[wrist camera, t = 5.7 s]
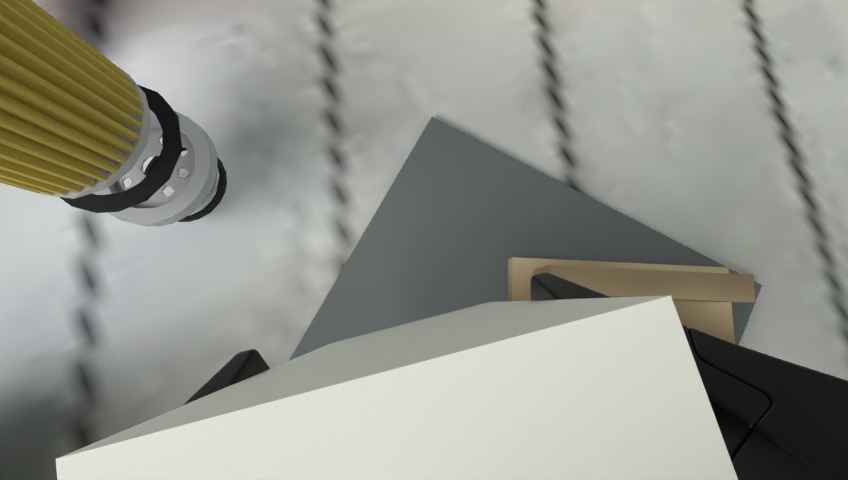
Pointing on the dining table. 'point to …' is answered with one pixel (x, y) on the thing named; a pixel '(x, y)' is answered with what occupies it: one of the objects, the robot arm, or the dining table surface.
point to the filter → (94, 128)
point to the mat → (475, 239)
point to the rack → (648, 287)
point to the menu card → (450, 406)
